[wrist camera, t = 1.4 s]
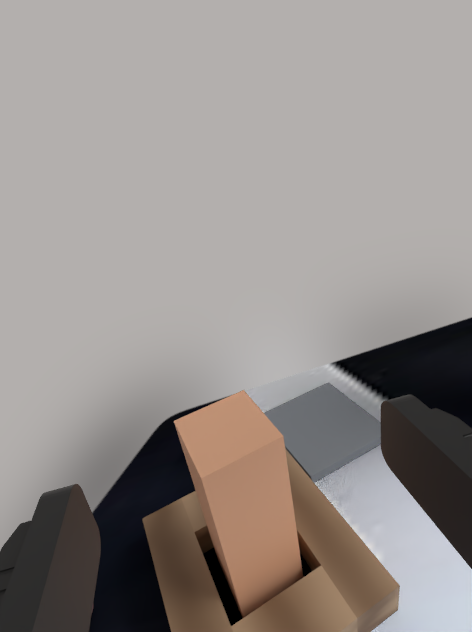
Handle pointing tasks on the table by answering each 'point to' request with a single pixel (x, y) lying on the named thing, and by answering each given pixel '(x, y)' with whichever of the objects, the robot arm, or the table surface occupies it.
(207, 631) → the walnut pocket block
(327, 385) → the slate pad
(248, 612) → the terracotta block
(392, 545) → the table surface
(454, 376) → the table surface
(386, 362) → the table surface
